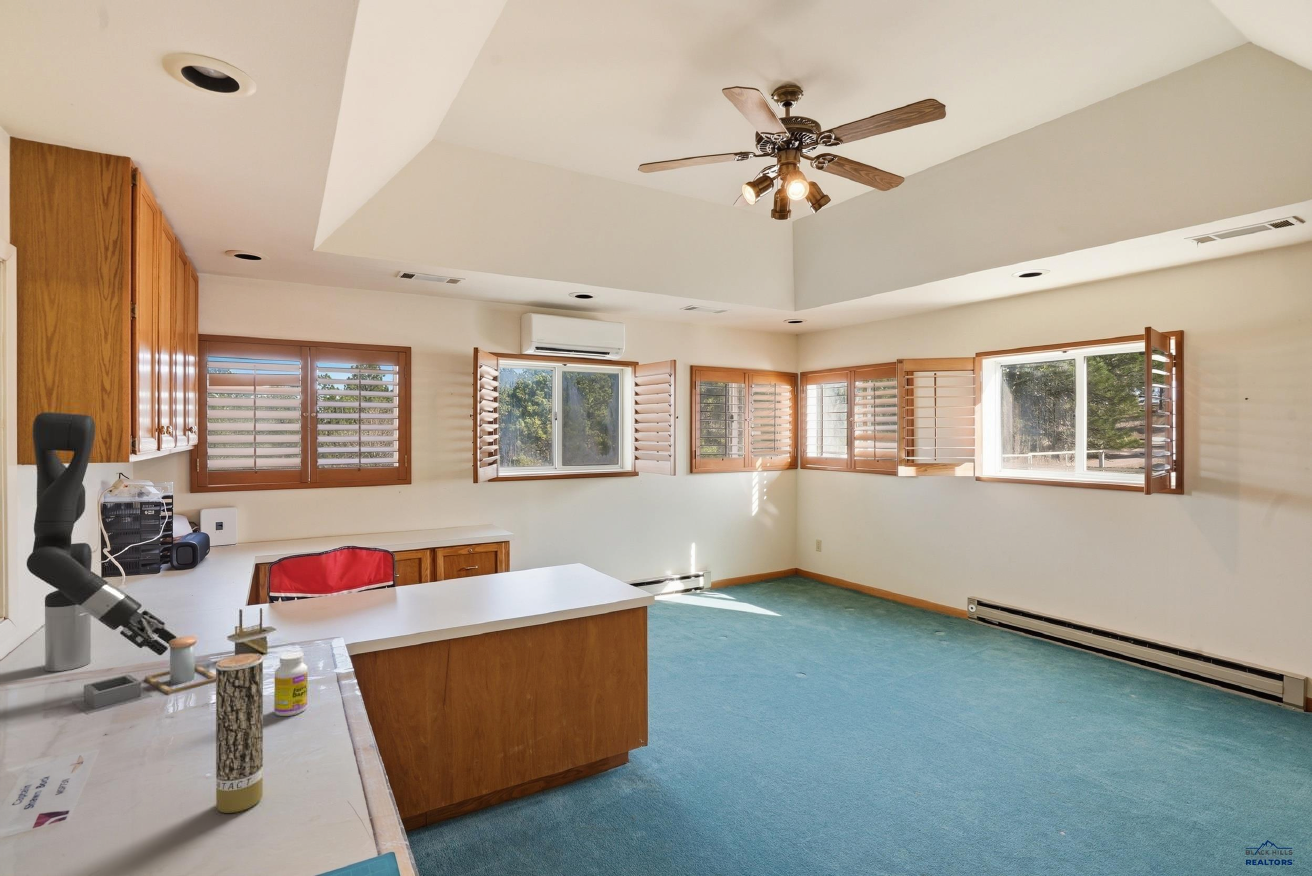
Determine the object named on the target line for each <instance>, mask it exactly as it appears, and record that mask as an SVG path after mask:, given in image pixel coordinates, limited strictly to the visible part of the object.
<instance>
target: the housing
mask: <svg viewBox="0 0 1312 876" xmlns="http://www.w3.org/2000/svg"><path fill="white" fill-rule="evenodd" d="M149 698H153V695H152V694H151V693H149V692H147V691H146V690H144V689H143V688H142V682H141V681H140V680H138V679H137V678H135V676H132V675H131V674H129V673H128V674H124V675H119V676H115V677H111V678H107V679H103V680H99V681H96V682H91V683H87V684H84V685H83V697H81V698H76V699H73V700H71V702H72V703H73V704H74V705H75V706H77V708H79V709H80V711H82V712H83V713H85V714H86V715H90V714H94V713H98V712H102V711H105V710H108V709H111V708H116V707H119V706H120V707H121V706H124V705H126V704H129V703H130V704H131V703H134V702H138V701H140V700H144V699H149Z"/></svg>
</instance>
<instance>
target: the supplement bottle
mask: <svg viewBox="0 0 1312 876" xmlns="http://www.w3.org/2000/svg"><path fill="white" fill-rule="evenodd" d="M303 660H304V654H303V652H299V651H298V652H297V651H296V652H295V651H294V652H286V653H284V654H281V655H280V657H279V664H280V666H279V667H277V668H276V670H274V695H273V696H274V707H273V708H274V709H273V710H274V711H273V712H274V714H275V715H277V716H278V717H289V716H290V717H291V716H295V715H298V714H300V713H303V711H305V710H306V709H307V707H308V680H309V679H308V677H309V675H308V674H309V673H308V672H309V671H308V670H309V669H308V666H307V665H306V664H305V663H303Z"/></svg>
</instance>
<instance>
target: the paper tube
mask: <svg viewBox="0 0 1312 876" xmlns="http://www.w3.org/2000/svg"><path fill="white" fill-rule="evenodd" d="M215 675H216V682H215V716H216V717H215V787H216V789H215V790H216V793H215V794H216V797H215V799H216V800H215V801H216V802H215V805H216V809H217V810H218V811H219V812H221V813H224V814H233V813H239V812H243V811H246V810H248V809H251V808H252V807H253V806H255V805H256V804H258V803H259V802H260V801H261V799H262V797H263V796H264V795H263V793H264V786H263V785H264V784H263V783H264V782H263V781H264V778H263V777H264V776H263V775H264V763H263V762H264V739H263V738H264V711H263V710H264V687H263V686H264V683H263V682H264V658H263V655H262V654H261V653H258V654H255V653H249V654H239V655H235V654H234V655H230V656H227V657H225V658H221V659H220V660H218V661H217V662H216V667H215Z"/></svg>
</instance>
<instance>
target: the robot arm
mask: <svg viewBox="0 0 1312 876" xmlns="http://www.w3.org/2000/svg"><path fill="white" fill-rule="evenodd" d="M95 436H96V423H95V420H94V418H93V417H92V416H90V415H88V414H76V413H66V412H65V413H64V412H47V411H44V412H40V413H39V414H37V415H36V416H35V418H34V420H33V423H32V440H33V441H32V442H33V443H32V445H33V450H34V457H35V464H36V509H35V510H36V511H35V516H34V517H35V518H34V523H33V533H34V540H33V541H34V543H33V548H32V551H31V553H30V554H29V556H28V557H27V559H26V567H27V570H28V571H29V573H31V574H32V576H33V575H34V576H35V577H37V579H40V580H42V581H43V582H45V583H46V584H48V585H50V586H51V587H53V588H55V589H56V590H54V591H52V592H50V593H48V594H46V595H45V597H44V670H45V671H47V672H62V671H68V670H74V669H78V668H81V667H84V666H86V665H89V664H90V663H91V660H92V655H91V654H92V653H91V652H92V651H91V649H92V637H91V636H92V634H91V633H92V628H91V627H92V619H91V618H92V617H93V618H94V619H96V620H98V621H99V622H100V623H102V624H103V625H105V626H106V627H108V628H109V629H111V630H112V631H116V630H117V629H118V628H120V627H122V628H123V629H122V630H121V631H120V632H119V634H120V635H121V636H122V637H124V638H125V639H127V640H128V641H129V642H131V643H132V644H134V645H135V646H136V647H137V648H140V649H142V648H148V649H149V650H151V651H152V652H154V653H155V654H157V655H158V656H162V655H163V654H165V653H166V652H167V651H168V649H169V646H167V645H169V641H170V640H172V639H175V638H178V637H177V636H176V635H175V634H173V633H172V632H171V631H169V630H168V629H166V626H165V625H166V623H165V622H164V621H163V620H161V619H160V618H158V617H156V616H155V615H154V614H152V613H151V612H149V611H148V610H146V609H144V610H143V611H142V612H138V610H139V609H141V608H142V603H140V602H139V601H137V600H136V599H134V598H133V597H131V596H130V595H129V594H127V593H126V592H124V590H121V589H120V588H119V587H118V586H115V585H113V584H111V583H109V581H107V580H106V579H104V578H103V577H101V576H100V575H99V574H97V573H95V572H94V571H92V563H93V561H92V559H93V554H92V547H91V546H90V544H89V543H87V542H78V543H77V542H76V543H72V536H73V530H74V526H75V524H76V522H77V521H79V519H80V518H81V517H82V516H83V514H84V512H85V510H86V488H85V485H84V484H83V481H84V478H85V476H86V472H87V468H88V465H89V461H90V458H91V454H92V450H93V447H94V442H95ZM57 451H60V452H73V455H72V457H71V460H70V463H69V464H68V466H67V467H66V465H65V464H64V463H63V462H62V461H61V460H60V458H59V456H58V454H57ZM155 636H156V637H157V638H158V639H160V640H162V641H163V642H165V643H166V644H167V645H165V644H164V643H162V642H161V641H159V640H158V639H157V638H155Z"/></svg>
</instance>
